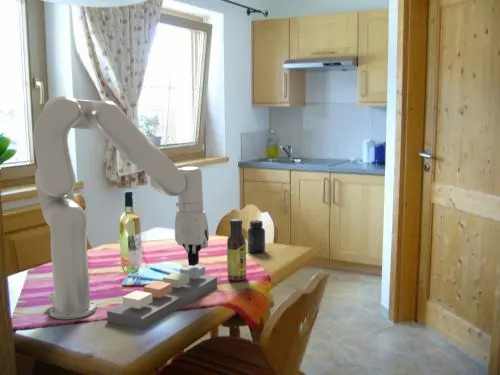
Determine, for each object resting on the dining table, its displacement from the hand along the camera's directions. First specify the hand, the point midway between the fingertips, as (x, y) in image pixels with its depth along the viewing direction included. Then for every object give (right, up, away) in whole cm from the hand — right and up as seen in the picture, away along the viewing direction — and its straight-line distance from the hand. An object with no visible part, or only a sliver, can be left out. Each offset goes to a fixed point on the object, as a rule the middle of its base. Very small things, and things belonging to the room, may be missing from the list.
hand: (193, 264), depth 171 cm
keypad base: (-7, -10, -11) cm, 16 cm away
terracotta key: (-9, -6, -15) cm, 19 cm away
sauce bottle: (+13, -6, +10) cm, 18 cm away
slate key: (0, -3, 0) cm, 4 cm away
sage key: (-4, -5, -8) cm, 10 cm away
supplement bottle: (+20, -1, +42) cm, 46 cm away
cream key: (-13, -7, -23) cm, 28 cm away
